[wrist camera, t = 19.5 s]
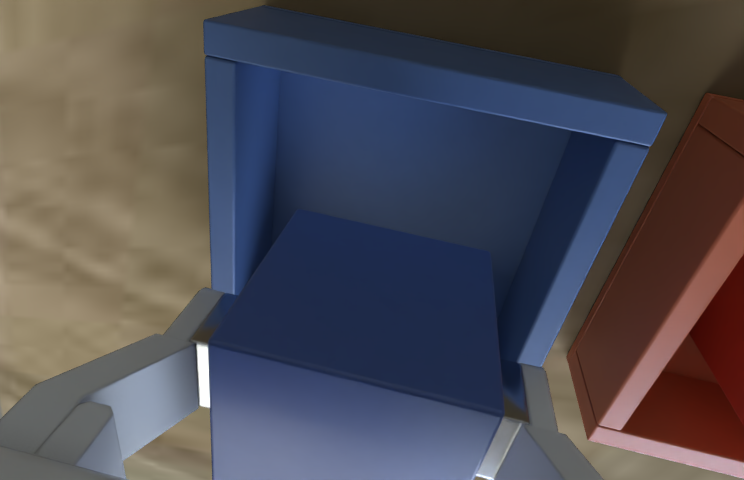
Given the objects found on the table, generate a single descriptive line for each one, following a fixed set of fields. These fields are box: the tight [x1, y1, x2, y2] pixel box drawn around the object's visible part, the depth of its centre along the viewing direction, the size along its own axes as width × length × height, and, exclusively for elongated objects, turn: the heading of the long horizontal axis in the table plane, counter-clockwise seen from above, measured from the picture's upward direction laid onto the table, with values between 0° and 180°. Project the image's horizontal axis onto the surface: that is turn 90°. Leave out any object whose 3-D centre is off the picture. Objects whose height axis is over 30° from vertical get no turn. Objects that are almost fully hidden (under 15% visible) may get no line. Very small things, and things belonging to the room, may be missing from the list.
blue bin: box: [203, 5, 667, 367], centre depth 15 cm, size 11×11×4 cm
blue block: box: [208, 209, 505, 480], centre depth 10 cm, size 4×4×4 cm
